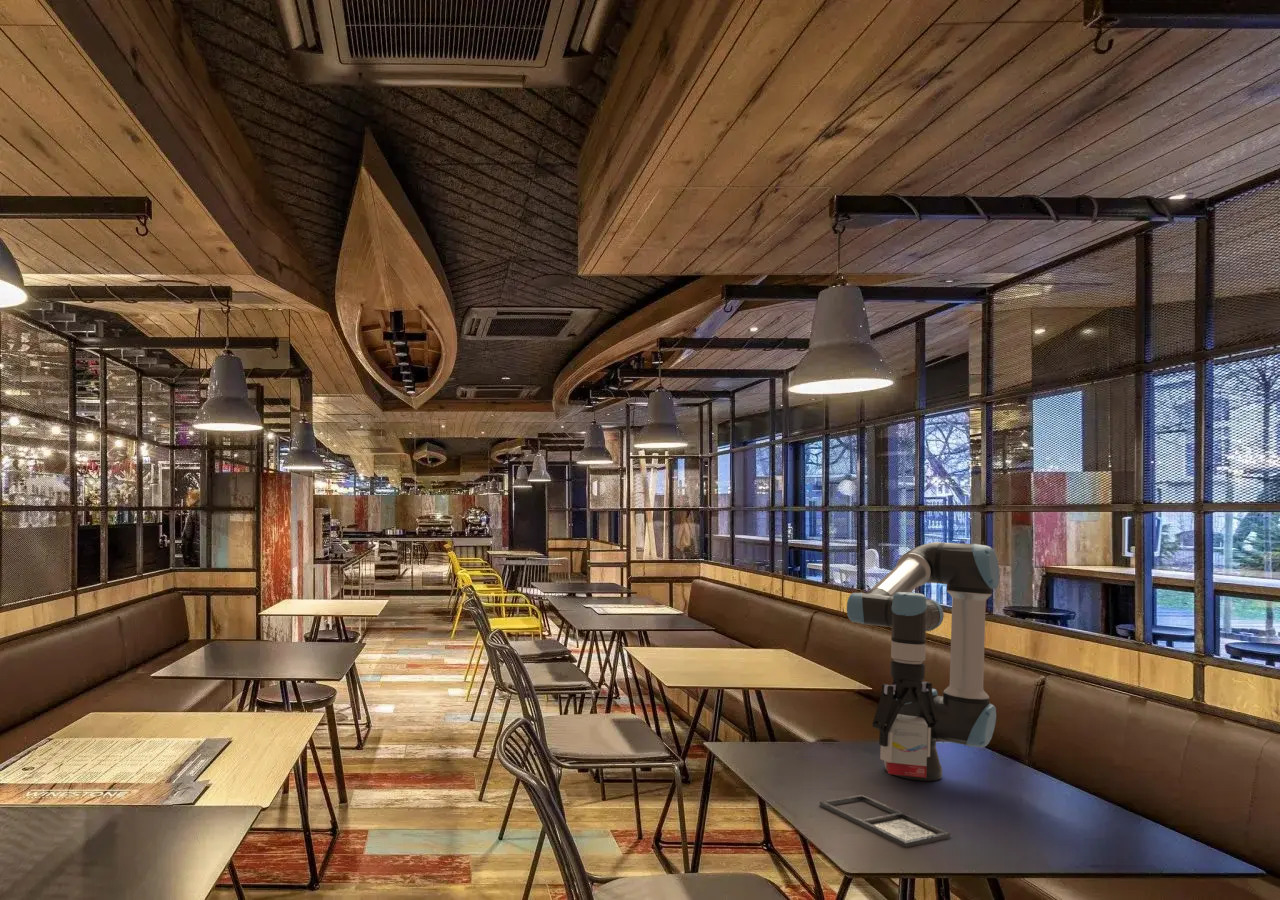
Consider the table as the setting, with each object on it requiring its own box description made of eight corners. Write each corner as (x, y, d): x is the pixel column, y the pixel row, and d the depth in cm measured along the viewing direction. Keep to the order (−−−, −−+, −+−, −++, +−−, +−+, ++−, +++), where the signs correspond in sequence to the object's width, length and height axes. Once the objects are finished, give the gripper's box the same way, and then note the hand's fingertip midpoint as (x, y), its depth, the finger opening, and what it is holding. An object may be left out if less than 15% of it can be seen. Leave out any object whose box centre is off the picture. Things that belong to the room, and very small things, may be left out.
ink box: (927, 778, 181) (928, 723, 182) (887, 774, 183) (888, 719, 184) (922, 767, 190) (923, 715, 191) (883, 763, 191) (885, 711, 192)
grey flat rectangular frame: (862, 798, 206) (862, 794, 206) (950, 837, 183) (950, 833, 183) (819, 805, 199) (819, 801, 199) (905, 847, 176) (905, 843, 176)
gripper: (930, 655, 197) (928, 748, 196) (857, 660, 186) (854, 758, 184) (956, 661, 191) (954, 757, 189) (882, 666, 179) (879, 768, 177)
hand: (905, 758), depth 186 cm, fingers closed on ink box, 11 cm apart
